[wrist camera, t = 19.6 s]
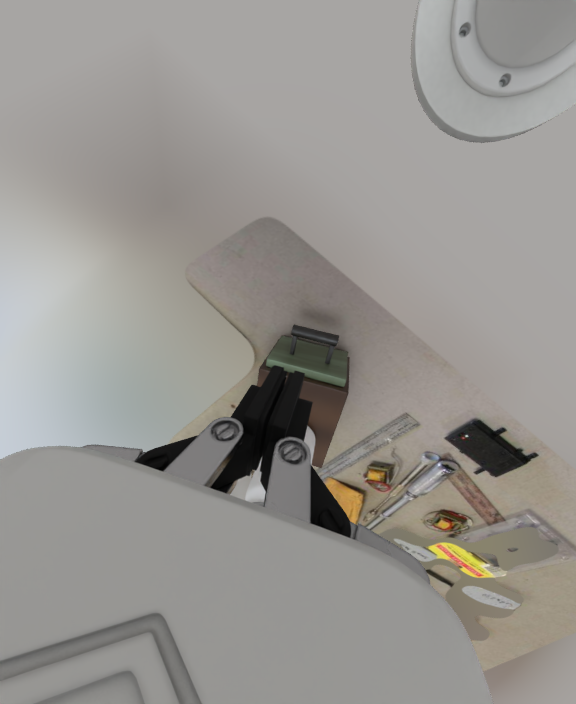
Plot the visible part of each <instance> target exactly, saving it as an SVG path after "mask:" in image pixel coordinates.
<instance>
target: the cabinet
mask: <svg viewBox="0 0 576 704" xmlns="http://www.w3.org/2000/svg"><path fill="white" fill-rule="evenodd" d="M279 340H280V339H279ZM279 340H278V341H279ZM278 341H277V343H278ZM277 343H276V344H277ZM276 344H275V346H276ZM275 346H274V347H275ZM274 347H273V349H274ZM273 349H272V350H273ZM272 350H271V352H272ZM271 352H270V353H271ZM270 353H269V355H270ZM269 355H268V356H269ZM268 356H267V358H268ZM267 358H266V359H265V361H264V362H263V364H262V365H261V367H260V368H259V375H258V383H257V386H259V387H261V386H262V384H263V382H264V381H265V379H266V377H267V375H268V374H269V372H270V370H271V367H267V366H266V362H267ZM288 376H289V373H287V376H286V380H287V378H288ZM285 383H286V381H285ZM348 389H349V357H347V378H346V383H345V386H344V387H341V386H333V385H330V384H326V383H322V382H319V381H315V380H311V379H308V378H304V380H303V385H302V389H301V393H300V397H299V398H301V399H304V400H308V401H311V402H313V404H312V408H311V413H310V417H309V421H308V426H309V427H310V429H311V430H312V431H313V433H314V435H315V448H314V454H313V459H312V465H313V466H316V467H319V468H322V465H323V462H324V459H325V457H326V454H327V451H328V448H329V446H330V443H331V440H332V437H333V434H334V432H335V429H336V426H337V423H338V421H339V418H340V415H341V412H342V409H343V407H344V404H345V401H346V398H347V395H348Z"/></svg>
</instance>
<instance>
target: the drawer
mask: <svg viewBox="0 0 576 704" xmlns="http://www.w3.org/2000/svg"><path fill="white" fill-rule="evenodd" d="M291 335H293V338H290V337H286V336H281V338H280V340H279V341H278V343H277V344H276V346H275V347H274V349H273V350H272V352H271V353H270V355H269V356H268V358H267V362H266V366H267V367H271V368H272V367H273V365H276V366H280V367H284V371H287V373H290V372H292V373H294V371H299V372H302V373H305V376H304V378H308V379H311V380H315V381H319V382H322V383H326V384H330V385H333V386H341V387H344V386H345V383H346V378H347V356H348V352H345V351H341V350H337V349H334V347H335V346H337V343H338V339H339V336H338V335H334V334H330V333H326V332H322V331H318V330H314V329H310V328H306V327H302V326H298V325H294V326H293V328H292V333H291ZM298 337H301V338H305V339H309V340H313V341H317V342H321V343H325V344H329V345H330V347H325V346H321V345H317V344H313V343H309V342H305V341H301V340H298V339H297V338H298Z"/></svg>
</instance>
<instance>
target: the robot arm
mask: <svg viewBox="0 0 576 704" xmlns="http://www.w3.org/2000/svg"><path fill="white" fill-rule="evenodd" d="M460 33H463V34H464V37H460V35H459V34H460ZM451 45H452V54H453V57H454V60H455V63H456V66H457V69H458V71H459V73H460V74H461V76H462V77H463V79H464V81H465V82H467V83H468V84H469V85H470V86H471V87H472V88H473V89H474V90H477V91H479V92H481V93H483V94H485V95H489V96H495V97H508V96H516V95H519V94H523V93H526V92H530V91H532V90H534V89H536V88H538V87H540V86H543V85H545V84H546V83H548V82H550V81H551V80H553V79H554V78H556V77H557V76H559V75H560V74H562V73H563V72H565V71H566V70H567V69H568V68H570V67H571V66H572V65H574V64H575V63H576V0H455V2H454V8H453V13H452V19H451ZM499 82H503V86H502V87H501V86H500V84H499ZM286 376H287V371H284V367H280V366H276V365H273V367H272V368H271V370H270V372H269V374H268V375H267V377H266V379H265V381H264V382H263V384H262V386H261V387H259V386H255V385H251V387H250V388H249V390H248V391H247V393H246V394H245V396H244V397H243V399H242V400H241V402H240V404H239V405H238V407H237V408H236V410H235V411H234V413H233V414H232V416H231V417H223V418H218V419H216V420H214V421H213V422H212V423H210V424H209V425H208V426H207V427H206V428H205V429H204V430H203V431H202V432H201V433H200V434H199V435H198V436H194V437H191V438H188V439H184V440H181V441H178V442H174V443H171V444H168V445H165V446H161V447H158V448H155V449H152V450H150V451H148V452H143V451H142V449H134V448H124V447H114V446H104V445H87V446H83V447H70V446H48V447H38V448H31V449H26V450H23V451H20V452H16V453H14V454H11V455H9V456H7V457H5V458H3V459H1V460H0V704H493V700H492V697H491V694H490V691H489V688H488V685H487V682H486V679H485V676H484V674H483V671H482V668H481V665H480V662H479V660H478V657H477V655H476V652H475V650H474V647H473V645H472V643H471V640H470V638H469V636H468V634H467V632H466V630H465V628H464V626H463V624H462V623H461V621H460V619H459V617H458V616H457V614H456V613H455V611H454V610H453V609H452V607H451V606H450V605H449V604H448V603H447V601H446V600H445V599H444V598H443V597H442V596H441V595H440V594H439V593H438V592H437V591H436V590H435V589H434V588H433V587H432V586H431V585H430V580H429V577H428V575H427V573H426V570H425V568H424V567H423V566H422V565H421V563H420V562H419V561H418V560H417V559H416V558H415V557H413V556H412V555H411V554H409V553H408V552H406V551H404V550H403V549H401V548H399V547H398V546H396V545H394V544H393V543H391V542H389V541H388V540H386V539H384V538H382V537H381V536H379V535H377V534H376V533H374V532H372V531H371V530H369V529H367V528H366V527H364V526H362V525H361V524H358V525H355V524H354V523H352V522H350V521H349V519H348V517H347V515H346V513H345V512H344V511H343V509H342V508H341V506H340V505H339V504H338V502H337V501H336V499H335V498H334V497H333V495H332V494H331V492H330V491H329V490H328V488H327V487H326V485H325V484H324V483H323V481H322V480H321V478H320V477H319V476H318V474H317V473H316V471H315V470H314V469H313V467H312V466H311V453H310V449H309V447H308V445H307V444H306V443H305V442H304V439H305V434H306V430H307V426H308V421H309V417H310V413H311V408H312V404H313V402H311V401H308V400H304V399H301V398H299V397H300V393H301V389H302V385H303V380H304V376H305V373H302V372H299V371H294V373H292V372H290V373H289V376H288V378H287V380H286ZM285 381H286V383H285ZM261 458H262V461H261ZM260 461H261V467H260V472H262V473H261V479H260V482H261V484H262V486H263V488H264V490H265V492H266V493H265V498H264V504H263V506H260V505H257V504H254V503H251V502H249V501H246V500H243V499H240V498H237V497H234V496H232V495H230V494H231V493H232V491H233V490H234V488H235V486H236V485H237V482H238V479H241V478H243V477H245V476H246V475H247V476H250V474H251V472H252V469H253V470H257V468H258V466H259V463H260Z"/></svg>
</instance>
